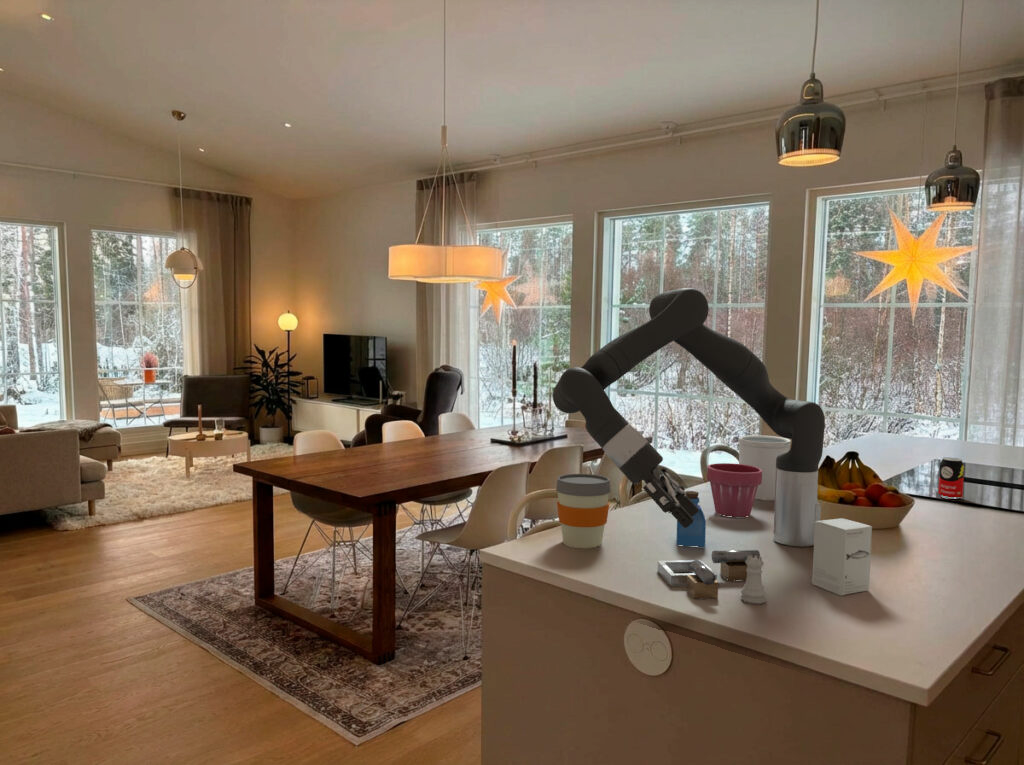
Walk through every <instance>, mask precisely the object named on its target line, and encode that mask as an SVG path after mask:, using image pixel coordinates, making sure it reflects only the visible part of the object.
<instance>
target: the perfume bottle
mask: <svg viewBox="0 0 1024 765" xmlns="http://www.w3.org/2000/svg"><path fill="white" fill-rule="evenodd" d="M685 493H686V495H685V496H687V497H688V498H689V499H690V500H691V501H692V502H693V503H694V504H695V505H696V507H697V508H698V509H699V511H698V512H697V513H696V514H695V515H694V516H693V517H692V518H693V520H694V521H693V523H692V524H691V525H689V526H688V527H687V528H684V527H683V526H682V525H681V524H680V523H679V522H678V521H677V520H676V546H677V545H683V546H698V547H705V548H706V528H707V527H706V526H707V523H706V522H707V521H706V517H705V513H704V511H703V509H702V507H701V505H700V504H699V503H700V497H699V492H698V491H695V490H686V491H685Z"/></svg>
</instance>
